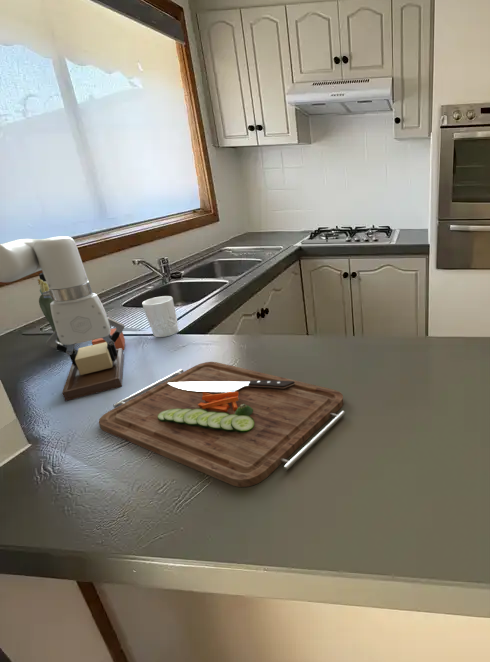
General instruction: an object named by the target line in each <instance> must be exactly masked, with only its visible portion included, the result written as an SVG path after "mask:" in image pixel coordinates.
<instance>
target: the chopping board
mask: <svg viewBox="0 0 490 662" xmlns="http://www.w3.org/2000/svg"><path fill="white" fill-rule="evenodd" d="M343 406H344V395H343V393H342V392H341V391H339V390H337V389H333V388H329V387H325V386H322V385H321V386H320V385H316V384H312V383H307V382H303V381H299V380H294V379H290V378H286V377H281V376H277V375H273V374H269V373H264V372H260V371H256V370H251V369H248V368H244V367H239V366H235V365H230V364H226V363H223V362H218V361H206V362H202V363H199V364H196V365H194V366H191V367H190V368H188V369H187V370H184V369H182V368H180V369H179V370H177V371H175V372H173V373H171V374H169V375H167V376H165V377H163V378H162V379H159V380H158V381H155V382H153V383H152V384H150V385H148V386H146V387H144V388H142V389H140V390H138V391H136V392H134V393H133V394H130V395H129V396H126V397H125V398H123V399H120V400H119V401H117V402H115V403H113V404H112V407H113V409H111V410H108V411H107V412H105V413H103V414H102V416H100V418H99V419H98V424H99V427H100V429H101V430H102V431H103V432H105V433H107V434H110V435H112V436H114V437H117V438H119V439H122V440H124V441H127V442H129V443H131V444H133V445H136V446H138V447H140V448H142V449H146V450H148V451H150V452H152V453H155V454H157V455H160V456H162V457H164V458H167V459H169V460H171V461H174V462H177V463H178V464H181V465H184V466H186V467H188V468H191V469H193V470H195V471H197V472H200V473H202V474H205V475H207V476H210V477H212V478H214V479H217V480H219V481H222V482H224V483H226V484H229V485H231V486H233V487H238V488H246V487H253V486H255V485H257V484H259V483H261V482H263V481H264V480H266V479H267V478H268V477H269V476H270V475H271V474H273V472H274V471H276V470H277V468H279V467H280V466H281V465H282V464H283V463H284V464H285V465H283V470H284V471H288V470H289V469H290V468H291V467H292V466H293V465H294V464H295V463H297V462H298V461H299V460H300V458H302V456H303V455H305V454H306V453H307V452H308V451H309V450H310V449H311V448H312V447H313V446H314V445H315V444H316V443H317V442H318V441H319V440H320V439H321V438H323V436H324V435H325V434H326V433H327V432H328V431H330V430H331V428H333V426H334V425H336V423H338V421H340V420H341V419H342V418H343V416H344V415H346V412H345V410H341V411H340V409H342V408H343ZM338 411H340V412H339V413H338ZM337 413H338V414H337ZM332 417H333V418H332ZM331 418H332V420H331V421H330V422H329V423H328V424H327V425H325V427H323V428H322V426H324V424H326V423H327V422H328V421H329V420H330V419H331ZM321 428H322V429H321ZM319 429H321V430H320V431H319V432H318V433H317V434H316V435H315V436H314V437H312V436H313V435H314V434H315V433H316V432H317V431H318V430H319ZM311 437H312V439H310V440H309V442H307V443H306V444H305V442H306V441H307V440H308V439H309V438H311ZM303 444H305V445H304V447H302V448H301V449H300V450H299V451H297V450H298V449H299V448H300V447H301V446H302V445H303ZM296 451H297V453H296V454H295V455H294V456H293V457H292V458H291V459H290V460H289V458H290V456H291V455H292V454H293V453H295V452H296Z"/></svg>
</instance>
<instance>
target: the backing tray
mask: <svg viewBox="0 0 490 662" xmlns="http://www.w3.org/2000/svg"><path fill="white" fill-rule="evenodd" d="M116 350H117V353H118V356H116V359H115V361H113V366H112V368H108V369H104V370H100V371H96V372H92V373H88V374H84V375H80V372H79V370H78V369H77V366H73V364H72V363H71V365H70V368H69V371H68V374H67V377H66V380H65V383H64V385H63V388H62V392H61V395H62V396H63V399H64V401H65V402H68V401H72V400H75V399H79V398H83V397H87V396H91V395H94V394H98V393H103V392H106V391H110V390H114V389H117V388H121V387H123V377H124V376H123V375H124V363H125V362H124V360H125V353H124V350H122V348H119V349H116Z"/></svg>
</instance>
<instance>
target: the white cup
mask: <svg viewBox="0 0 490 662" xmlns="http://www.w3.org/2000/svg"><path fill="white" fill-rule="evenodd" d="M141 305H142V308H143V312H144V314H145V316H146V319H147V322H148V324H149V327H150V329H151V333H152V335H153V336H154V337H155V338H166V337H170V336H172V335H175V334H177V333H178V332H179V330H180V329H179V324H178V317H177V312H176V307H175V303H174V297H173V296H171V295H162V296H160V295H159V296H156V297H151V298H148V299H146V300H144V301H142V303H141Z"/></svg>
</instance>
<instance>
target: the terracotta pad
mask: <svg viewBox="0 0 490 662" xmlns="http://www.w3.org/2000/svg"><path fill="white" fill-rule="evenodd" d="M115 331H116V328H115V327H113V328H111V332H110V335H111V336H112V335H113V333H114V332H115ZM104 342H106V341H105V340H104V339H103V338H99V339H95V340H91V345H95V344H100V343H104ZM114 344H115V347H116V349H119V348H122V350H123V351H124V350H125V347H126V346H125V345H126V338H125V336H124V332H123V331H122V332H121V334H120V335H119V337H118V339H117V340H116V341H115V343H114Z"/></svg>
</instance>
